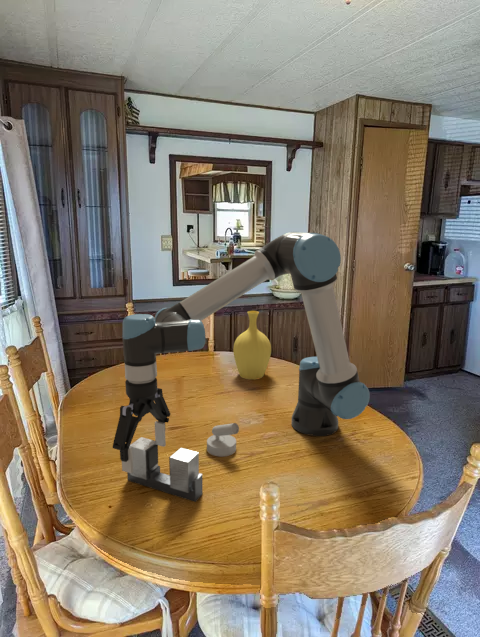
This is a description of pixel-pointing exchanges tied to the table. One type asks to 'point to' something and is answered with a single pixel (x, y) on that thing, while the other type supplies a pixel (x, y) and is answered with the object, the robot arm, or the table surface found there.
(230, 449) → the wall hook
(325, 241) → the robot arm
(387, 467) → the table surface
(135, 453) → the light grey block
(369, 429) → the table surface
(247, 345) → the vase
